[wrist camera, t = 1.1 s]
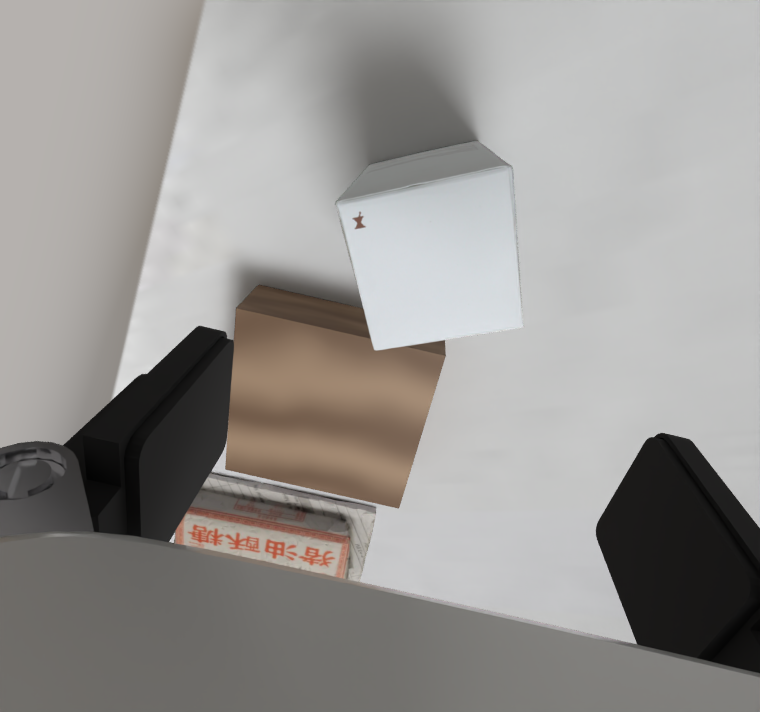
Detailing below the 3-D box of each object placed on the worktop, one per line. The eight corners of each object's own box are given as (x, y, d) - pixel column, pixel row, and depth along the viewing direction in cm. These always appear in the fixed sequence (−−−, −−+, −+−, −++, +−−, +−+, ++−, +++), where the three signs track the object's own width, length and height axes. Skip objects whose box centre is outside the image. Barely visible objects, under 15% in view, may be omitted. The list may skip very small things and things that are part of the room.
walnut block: (260, 282, 36) (236, 308, 32) (444, 324, 36) (445, 355, 32) (246, 431, 43) (225, 469, 38) (402, 466, 43) (398, 508, 38)
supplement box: (389, 272, 34) (367, 355, 23) (366, 162, 31) (329, 197, 20) (495, 254, 33) (526, 333, 22) (483, 137, 30) (513, 160, 19)
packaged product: (166, 577, 46) (163, 501, 41) (189, 537, 50) (189, 463, 45) (354, 617, 46) (373, 545, 41) (361, 573, 50) (378, 503, 45)
